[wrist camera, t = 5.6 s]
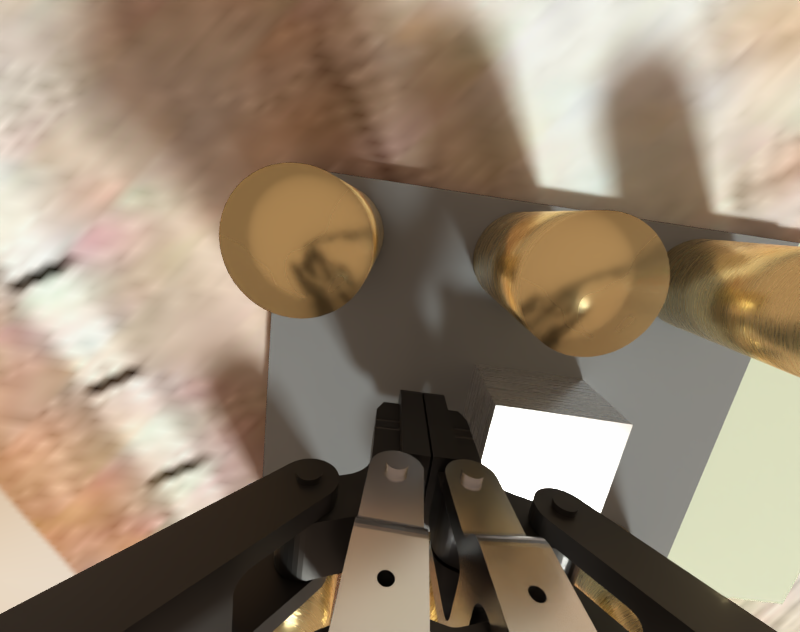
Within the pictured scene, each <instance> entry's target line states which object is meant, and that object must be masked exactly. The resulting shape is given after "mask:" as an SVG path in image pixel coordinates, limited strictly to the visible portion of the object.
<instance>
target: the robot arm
mask: <svg viewBox="0 0 800 632" xmlns="http://www.w3.org/2000/svg"><path fill="white" fill-rule="evenodd" d="M428 532H430V538H431V541H430V545H429V534H428ZM580 569H581V570H582V571H584V572H585V573H586V574H587V575H589V576H590V577H591V578H592V579H594V580H595V581H596V582H597V583H598V584H600V585H601V586H602V587H603V588H605V589H606V590H607V591H608V592H610V593H611V594H612V595H613V596H614V597H616V598H617V599H618V600H619V601H621V602H622V603H623V604H624V605H626V606H627V607H628V608H629V609H630V610H631V611H632V612H633V613H634V614H635V615H636V617H637V618H638V620H639V621H640V623H641V625H642V628H643V632H777V631H775V630H774V629H772V628H771V627H769V626H768V625H766V624H765V623H763V622H762V621H760V620H759V619H757V618H756V617H754V616H753V615H751V614H750V613H748V612H747V611H745V610H744V609H742V608H741V607H739V606H738V605H736V604H735V603H733V602H732V601H730V600H729V599H727V598H726V597H725V596H723V595H722V594H720V593H719V592H717V591H716V590H714V589H713V588H711V587H710V586H708V585H707V584H705V583H704V582H702V581H701V580H699V579H698V578H696V577H695V576H693V575H692V574H690V573H689V572H687V571H686V570H684V569H683V568H681V567H680V566H678V565H677V564H675V563H674V562H672V561H671V560H669V559H668V558H666V557H665V556H663V555H662V554H660V553H659V552H657V551H656V550H654V549H653V548H652V547H650V546H649V545H647V544H646V543H644V542H643V541H641V540H640V539H638V538H637V537H635V536H634V535H632V534H631V533H629V532H628V531H626V530H625V529H623V528H622V527H620V526H619V525H617V524H616V523H614V522H613V521H611V520H610V519H608V518H607V517H605V516H604V515H602V514H601V513H599V512H598V511H596V510H595V509H593V508H592V507H590V506H589V505H587V504H586V503H584V502H583V501H581V500H580V499H578V498H577V497H575V496H574V495H572V494H570V493H568V492H566V491H563V490H560V489H556V488H549V487H548V488H541V489H539V490H537V491H536V492H535V494H534V497H533V500H530V499H527V498H524V497H521V496H518V495H515V494H513V493H510V492H508V491H506V490H504V489H503V487H502V485H501V483H500V481H499V479H498V477H497V476H496V474H495V473H494V472H493V471H492V470H491V469H489V468H488V467H487V466H485V465H483V464H482V462H481V459H480V457H479V454H478V451H477V448H476V445H475V442H474V440H473V436H472V433H471V432H470V428H469V425H468V422H467V420H466V419H465V418H464V417H463V416H462V415H461V414H460V413H459V412H458V411H452V410H448V408H447V404H446V400H445V396H444V395H440V394H432V393H425V392H423V393H422V392H416V391H409V390H400V393H399V399H398V404H397V403H389V402H383V403H382V404H381V405H380V406H379V407H378V408H377V411H376V418H375V425H374V432H373V439H372V446H371V454H370V463H369V464H368V465H367V466H366V467H365V468H364V469H362V470H360V471H358V472H355V473H352V474H346V475H339V473H338V471H337V470H336V468H335V467H334V466H333V465H331V464H330V463H328V462H326V461H323V460H319V459H310V458H309V459H301V460H297V461H294V462H292V463H290V464H288V465H286V466H284V467H282V468H280V469H278V470H276V471H274V472H272V473H270V474H269V475H267V476H265V477H263V478H261V479H259V480H257V481H255V482H253V483H251V484H249V485H247V486H245V487H244V488H242V489H240V490H238V491H236V492H234V493H232V494H230V495H228V496H226V497H224V498H222V499H220V500H219V501H217V502H215V503H213V504H211V505H209V506H207V507H205V508H203V509H201V510H199V511H197V512H195V513H194V514H192V515H190V516H188V517H186V518H184V519H182V520H180V521H178V522H176V523H174V524H172V525H171V526H169V527H167V528H165V529H163V530H161V531H159V532H157V533H155V534H153V535H151V536H149V537H147V538H146V539H144V540H142V541H140V542H138V543H136V544H134V545H132V546H130V547H128V548H126V549H124V550H122V551H121V552H119V553H117V554H115V555H113V556H111V557H109V558H107V559H105V560H103V561H101V562H99V563H97V564H96V565H94V566H92V567H90V568H88V569H86V570H84V571H82V572H80V573H78V574H76V575H74V576H72V577H71V578H69V579H67V580H65V581H63V582H61V583H59V584H57V585H55V586H53V587H51V588H50V589H48V590H46V591H44V592H42V593H40V594H38V595H36V596H34V597H32V598H30V599H28V600H26V601H24V602H23V603H21V604H19V605H17V606H15V607H13V608H11V609H9V610H7V611H5V612H3V613H1V614H0V632H273V631H274V630H275V629H276V628H277V627H278V626H279V625H281V624H282V623H283V622H284V621H285V620H286V619H287V618H288V617H289V616H290V615H292V614H293V613H294V612H295V611H296V610H297V609H298V608H299V607H300V606H301V605H303V604H304V603H305V602H306V601H307V600H308V599H309V598H310V597H311V596H313V595H314V594H315V593H316V592H317V591H318V590H319V589H320V588H321V587H322V586H323V584H324V583H325V581H326V578H327V576H330V575H335V574H339V573H342V576H341V581H340V585H339V589H338V593H337V598H336V602H335V606H334V611H333V615H332V619H331V623H330V625H329V626H326V627H323V628H320V629H318V630H316V631H314V632H629V631H628V630H626V629H625V628H624V627H623V626H622V625H621V624H619V623H618V622H617V621H616V620H615V619H614V618H612V617H611V616H610V615H609V614H608V613H607V612H605V611H604V610H603V609H602V608H601V607H600V606H598V605H597V604H596V603H595V602H594V601H592V600H591V599H590V598H589V597H588V596H587V595H585V594H584V593H583V592H582V591H581V590H580V589H578V588H577V587H576V586H575V582H576V579H577V576H578V573H579V570H580ZM429 572H430V578H431V583H432V589H433V595H434V601H435V607H436V612H437V618H438V622H436V621H433V620H430V600H429Z"/></svg>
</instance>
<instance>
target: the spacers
mask: <svg viewBox="0 0 800 632" xmlns="http://www.w3.org/2000/svg"><path fill="white" fill-rule="evenodd" d="M383 239H384V227H383V222H382V218H381V215H380V213H379V211H378V209H377V207H376V206H375V204H374V203H373V202H372V200H371V199H370V198H369V197H368V196H367V195H365V194H364V193H363V192H361V191H360V190H358V189H356V188H355V187H353V186H351V185H350V184H348V183H346V182H344V181H343V180H341V179H339V178H338V177H336V176H334V175H332V174H331V173H329V172H327V171H325V170H323V169H320V168H318V167H315V166H312V165H307V164H303V163H292V162H290V163H279V164H274V165H270V166H267V167H264V168H261V169H259V170H257V171H256V172H254V173H252V174H251V175H249V176H248V177H247V178H245V179H244V180H243V181H242V182H241V183H240V184H239V185H238V186H237V187H236V188H235V190H234V191H233V192H232V194H231V195H230V197H229V199H228V201H227V202H226V204H225V207H224V210H223V213H222V216H221V221H220V229H219V241H220V249H221V254H222V257H223V261H224V264H225V266H226V268H227V270H228V273H229V274H230V276H231V278H232V279H233V281H234V283H235V284H236V285H237V286H238V288H239V289H240V290H241V291H242V292H243V293H244V294H245V295H246V296H247V297H248V298H249V299H250V300H252V301H253V302H254V303H255V304H257V305H258V306H260V307H262V308H263V309H265V310H267V311H270V312H272V313H274V314H277V315H280V316H284V317H289V318H299V319H304V318H314V317H320V316H323V315H326V314H329V313H331V312H333V311H335V310H337V309H339V308H340V307H342V306H343V305H345V304H346V303H347V302H348V301H350V300H351V299H352V298H353V297H354V296H355V294H356V293H357V292H358V291H359V289H360V288H361V286H362V285H363V283H364V282H365V280H366V278H367V276H368V274H369V272H370V270H371V268H372V266H373V265H374V263H375V261H376V259H377V257H378V255H379V253H380V251H381V248H382V245H383ZM473 268H474V272H475V276H476V278H477V281H478V282H479V284H480V286H481V287H482V288H483V289H484V290H485V291H486V292H487V293H488V294H489V295H490V296H491V297H492V298H493V299H495V300H496V301H497V302H498V303H499V304H500V305H501V306H502V307H503V308H504V309H506V310H507V311H508V312H509V313H510V314H511V315H512V316H513V317H514V318H516V319H517V320H518V321H519V322H520V323H521V324H522V325H523V326H524V327H525V328H527V329H528V330H529V331H530V332H531V333H532V334H533V335H534V336H535V337H536V338H538V339H539V340H540V341H541V342H542V343H543V344H545V345H546V346H548V347H549V348H551V349H553V350H555V351H557V352H559V353H562V354H565V355H570V356H575V357H594V356H600V355H604V354H608V353H611V352H614V351H616V350H619V349H621V348H623V347H624V346H626V345H628V344H630V343H631V342H633V341H634V340H635V339H637V338H638V337H639V336H640V335H641V334H643V333H644V332H645V331H646V330H647V329H648V327H649V326H650V325H651V324H652V323H653V321H654V320H655V319H656V317H658V318H659V319H661V320H662V321H664V322H666V323H668V324H670V325H672V326H675V327H677V328H680V329H682V330H685V331H687V332H690V333H692V334H694V335H697V336H699V337H702V338H704V339H707V340H709V341H712V342H714V343H716V344H719V345H721V346H724V347H726V348H729V349H731V350H734V351H736V352H738V353H741V354H743V355H746V356H748V357H751V358H753V359H756V360H758V361H760V362H763V363H765V364H768V365H770V366H773V367H775V368H778V369H780V370H782V371H785V372H787V373H790V374H792V375H795V376H797V377H800V247H798V246H786V245H774V244H761V243H749V242H737V241H725V240H712V239H694V240H689V241H686V242H683V243H681V244H679V245H677V246H675V247H673V248H672V249H671V250H669V251H668V252H666V249H665V247H664V245H663V243H662V241H661V239H660V238H659V236H658V235H657V234H656V233H655V231H654V230H653V229H652V228H651V227H650V226H648V225H647V224H646V223H645V222H643V221H642V220H640V219H638V218H636V217H635V216H632V215H629V214H627V213H623V212H619V211H610V210H588V211H535V212H514V213H510V214H507V215H504V216H502V217H500V218H498V219H496V220H495V221H493V222H492V223H491V224H490V225H489V226H488V227H487V228H486V229H485V230H484V231H483V233H482V234H481V235H480V237H479V239H478V241H477V243H476V246H475V250H474V254H473ZM617 525H618V524H617ZM619 526H620V525H619ZM620 527H622V526H620ZM622 528H623V529H625V528H624V527H622ZM625 530H626V529H625ZM626 531H627V530H626ZM428 534H429V545H430V541H431V538H430V532H428ZM337 578H338V574H335V575H330V576H327V578H326V581H325V583H324V584H323V586H322V587H321V588H320V589H319V590H318V591H317V592H316V593H315V594H314V595H313V596H311V597H310V598H309V599H308V600H307V601H306V602H305V603H304V604H303V605H301V606H300V607H299V608H298V609H297V610H296V611H295V612H294V613H293V614H292V615H290V616H289V617H288V618H287V619H286V620H285V621H284V622H283V623H282V624H281V625H279V626H278V627H277V628H276V629H275V630H274V631H273V632H314V631H316V630H318V629H320V628H323V627H326V626H329V625H330V619H331V613H332V607H333V601H334V596H335V590H336V584H337ZM575 586H576V587H577V588H578V589H580V590H581V591H582V592H583V593H584V594H585V595H587V596H588V597H589V598H590V599H591V600H592V601H594V602H595V603H596V604H597V605H598V606H600V607H601V608H602V609H603V610H604V611H605V612H607V613H608V614H609V615H610V616H611V617H612V618H614V619H615V620H616V621H617V622H618V623H619V624H621V625H622V626H623V627H624V628H625V629H626V630H628V631H629V632H643V628H642V625H641V623H640V621H639V620H638V618H637V617H636V615H635V614H634V613H633V612H632V611H631V610H630V609H629V608H628V607H627V606H626V605H624V604H623V603H622V602H621V601H619V600H618V599H617V598H616V597H614V596H613V595H612V594H611V593H610V592H608V591H607V590H606V589H605V588H603V587H602V586H601V585H600V584H598V583H597V582H596V581H595V580H594V579H592V578H591V577H590V576H589V575H587V574H586V573H585V572H584V571H582V570H581V569H580V570H579V573H578V576H577V579H576V582H575ZM429 600H430V620H433V621H436V622H438V618H437V612H436V607H435V601H434V595H433V589H432V583H431V578H430V572H429Z"/></svg>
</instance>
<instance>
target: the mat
mask: <svg viewBox="0 0 800 632" xmlns="http://www.w3.org/2000/svg"><path fill="white" fill-rule="evenodd" d="M329 173H331V174H332V175H334V176H336V177H338V178H339V179H341V180H343V181H344V182H346V183H348V184H350V185H351V186H353V187H355V188H356V189H358V190H360V191H361V192H363V193H364V194H365V195H367V196H368V197H369V198H370V199H371V200H372V202H373V203H374V204H375V206H376V207H377V209H378V211H379V213H380V215H381V218H382V222H383V227H384V239H383V245H382V248H381V251H380V253H379V255H378V257H377V259H376V261H375V263H374V265H373V266H372V268H371V270H370V272H369V274H368V276H367V278H366V280H365V282H364V283H363V285H362V286H361V288H360V289H359V291H358V292H357V293H356V294H355V296H354V297H353V298H352V299H351V300H350V301H348V302H347V303H346V304H345V305H343V306H342V307H340V308H339V309H337V310H335V311H333V312H331V313H329V314H326V315H323V316H320V317H314V318H304V319H299V318H289V317H284V316H280V315H277V314H274V313H272V312H271V330H270V349H269V368H268V387H267V406H266V424H265V443H264V462H263V477H265V476H267V475H269V474H270V473H272V472H274V471H276V470H278V469H280V468H282V467H284V466H286V465H288V464H290V463H292V462H294V461H297V460H301V459H309V458H310V459H319V460H323V461H326V462H328V463H330V464H331V465H333V466H334V467H335V468H336V470H337V471H338V473H339V475H346V474H352V473H355V472H358V471H360V470H362V469H364V468H365V467H366V466H367V465H368V464H369V463H370V454H371V446H372V439H373V432H374V425H375V418H376V411H377V408H378V407H379V406H380V405H381V404H382V403H383V402H389V403H397V404H398V399H399V393H400V390H409V391H416V392H422V393H423V392H425V393H432V394H440V395H444V396H445V400H446V404H447V408H448V410H452V411H458V412H459V413H460V414H461V415H462V416H463V413H464V408H465V404H466V400H467V395H468V391H469V386H470V382H471V378H472V373H473V369H474V364H482V365H488V366H495V367H502V368H509V369H515V370H522V371H529V372H535V373H542V374H549V375H556V376H562V377H569V378H576V379H582V380H584V381H585V382H586V383H587V384H588V385H589V386H591V387H592V388H593V389H594V390H595V391H596V392H597V393H598V394H599V395H601V396H602V397H603V398H604V399H605V400H606V401H607V402H608V403H609V404H611V405H612V406H613V407H614V408H615V409H616V410H617V411H618V412H619V413H621V414H622V415H623V416H624V417H625V418H626V419H627V420H628V421H629V422H630V423H632V424H633V426H632V429H631V431H630V434H629V437H628V440H627V442H626V445H625V448H624V451H623V453H622V456H621V459H620V462H619V464H618V467H617V470H616V472H615V475H614V478H613V481H612V483H611V486H610V489H609V492H608V494H607V497H606V500H605V503H604V505H603V508H602V511H601V514H602V515H604V516H605V517H607V518H608V519H610V520H611V521H613V522H614V523H616V524H618V525H620V526H622V527H624V528H625V529H626V530H627V531H628V532H629V533H631V534H632V535H634V536H635V537H637V538H638V539H640V540H641V541H643V542H644V543H646V544H647V545H649V546H650V547H652V548H653V549H654V550H656V551H657V552H659V553H660V554H662V555H663V556H665V557H666V558H668V559H669V560H671V561H672V562H674V563H675V564H677V565H678V566H680V567H681V568H683V569H684V570H686V571H687V572H689V573H690V574H692V575H693V576H695V577H696V578H698V579H699V580H701V581H702V582H704V583H705V584H707V585H708V586H710V587H711V588H713V589H714V590H716V591H717V592H719V593H720V594H722V595H723V596H725V597H726V598H733V599H742V600H751V601H760V602H769V603H778V604H783V602H784V601H785V599H786V597H787V595H788V593H789V591H790V590H791V588H792V586H793V584H794V582H795V580H796V579H797V577H798V575H799V573H800V377H797V376H795V375H792V374H790V373H787V372H785V371H782V370H780V369H778V368H775V367H773V366H770V365H768V364H765V363H763V362H760V361H758V360H756V359H753V358H751V357H748V356H746V355H743V354H741V353H738V352H736V351H734V350H731V349H729V348H726V347H724V346H721V345H719V344H716V343H714V342H712V341H709V340H707V339H704V338H702V337H699V336H697V335H694V334H692V333H690V332H687V331H685V330H682V329H680V328H677V327H675V326H672V325H670V324H668V323H666V322H664V321H662V320H661V319H659V318H658V317H656V319H655V320H654V321H653V323H652V324H651V325H650V326H649V327H648V329H647V330H646V331H645V332H644V333H643V334H641V335H640V336H639V337H638V338H637V339H635V340H634V341H633V342H631V343H630V344H628V345H626V346H624V347H623V348H621V349H619V350H616V351H614V352H611V353H608V354H604V355H600V356H594V357H575V356H570V355H565V354H562V353H559V352H557V351H555V350H553V349H551V348H549V347H548V346H546V345H545V344H543V343H542V342H541V341H540V340H539V339H538V338H536V337H535V336H534V335H533V334H532V333H531V332H530V331H529V330H528V329H527V328H525V327H524V326H523V325H522V324H521V323H520V322H519V321H518V320H517V319H516V318H514V317H513V316H512V315H511V314H510V313H509V312H508V311H507V310H506V309H504V308H503V307H502V306H501V305H500V304H499V303H498V302H497V301H496V300H495V299H493V298H492V297H491V296H490V295H489V294H488V293H487V292H486V291H485V290H484V289H483V288H482V287H481V286H480V284H479V282H478V281H477V278H476V276H475V272H474V268H473V254H474V250H475V246H476V243H477V241H478V239H479V237H480V235H481V234H482V233H483V231H484V230H485V229H486V228H487V227H488V226H489V225H490V224H491V223H492V222H493V221H495V220H496V219H498V218H500V217H502V216H504V215H507V214H510V213H514V212H535V211H584V210H577V209H570V208H564V207H557V206H551V205H544V204H537V203H531V202H524V201H518V200H511V199H504V198H498V197H491V196H484V195H478V194H471V193H465V192H458V191H451V190H445V189H438V188H432V187H425V186H418V185H412V184H405V183H398V182H392V181H385V180H379V179H372V178H365V177H359V176H352V175H346V174H339V173H332V172H329ZM640 220H642V221H643V222H645V223H646V224H647V225H648V226H650V227H651V228H652V229H653V230H654V231H655V233H656V234H657V235H658V236H659V238H660V239H661V241H662V243H663V245H664V247H665V249H666V252H668V251H669V250H671V249H672V248H673V247H675V246H677V245H679V244H681V243H683V242H686V241H689V240H694V239H712V240H725V241H737V242H749V243H761V244H774V245H786V246H798V247H800V243H795V242H789V241H782V240H775V239H769V238H762V237H756V236H749V235H742V234H736V233H729V232H723V231H716V230H709V229H703V228H696V227H689V226H683V225H676V224H670V223H663V222H656V221H650V220H643V219H640Z"/></svg>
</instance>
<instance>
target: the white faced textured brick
mask: <svg viewBox="0 0 800 632" xmlns="http://www.w3.org/2000/svg"><path fill="white" fill-rule="evenodd" d="M463 417H464V418H465V419H466V420H467V422H468V425H469V428H470V432H471V433H472V436H473V440H474V442H475V445H476V448H477V451H478V454H479V457H480V459H481V462H482V464H483V465H485V466H487V467H488V468H489V469H491V470H492V471H493V472H494V473H495V474H496V476H497V477H498V479H499V481H500V483H501V485H502V487H503V489H504V490H506V491H508V492H510V493H513V494H515V495H518V496H521V497H524V498H527V499H530V500H533V497H534V494H535V492H536V491H537V490H539V489H541V488H548V487H549V488H556V489H560V490H563V491H566V492H568V493H570V494H572V495H574V496H575V497H577V498H578V499H580V500H581V501H583V502H584V503H586V504H587V505H589V506H590V507H592V508H593V509H595V510H596V511H598V512H599V513H601V511H602V508H603V505H604V503H605V500H606V497H607V494H608V492H609V489H610V486H611V483H612V481H613V478H614V475H615V472H616V470H617V467H618V464H619V462H620V459H621V456H622V453H623V451H624V448H625V445H626V442H627V440H628V437H629V434H630V431H631V429H632V426H633V424H632V423H630V422H629V421H628V420H627V419H626V418H625V417H624V416H623V415H622V414H621V413H619V412H618V411H617V410H616V409H615V408H614V407H613V406H612V405H611V404H609V403H608V402H607V401H606V400H605V399H604V398H603V397H602V396H601V395H599V394H598V393H597V392H596V391H595V390H594V389H593V388H592V387H591V386H589V385H588V384H587V383H586V382H585V381H584V380H582V379H576V378H569V377H562V376H556V375H549V374H542V373H535V372H529V371H522V370H515V369H509V368H502V367H495V366H488V365H482V364H474V369H473V373H472V378H471V382H470V386H469V391H468V395H467V400H466V404H465V408H464V413H463Z"/></svg>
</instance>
